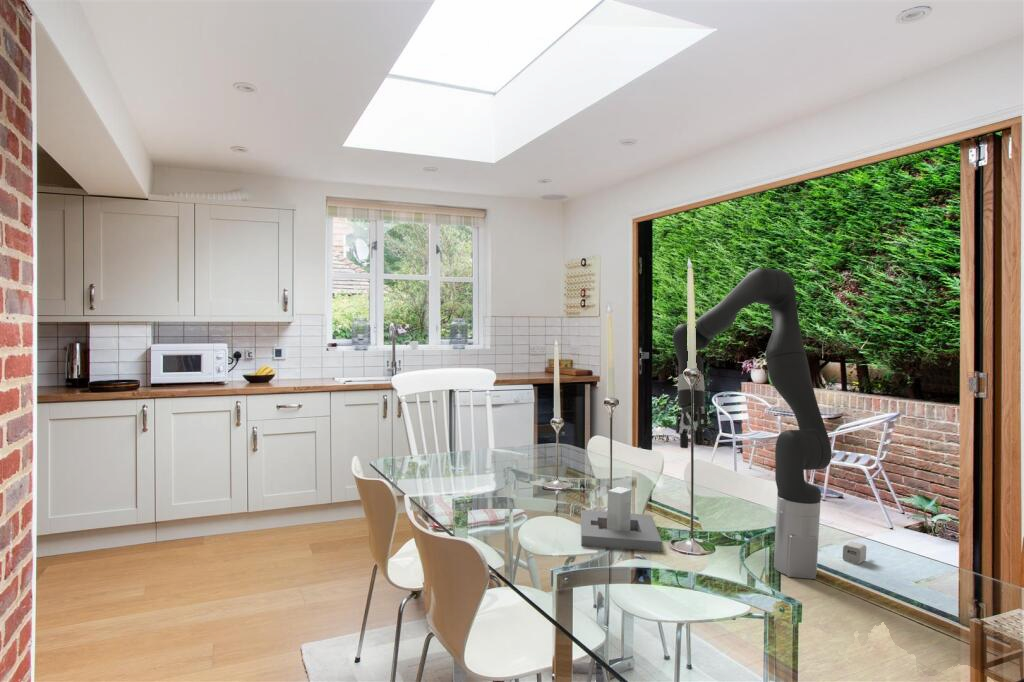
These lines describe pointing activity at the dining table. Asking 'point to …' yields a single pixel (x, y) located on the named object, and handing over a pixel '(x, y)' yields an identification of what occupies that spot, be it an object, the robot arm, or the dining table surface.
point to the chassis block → (619, 532)
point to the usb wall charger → (854, 552)
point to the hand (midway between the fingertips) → (691, 446)
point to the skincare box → (619, 509)
